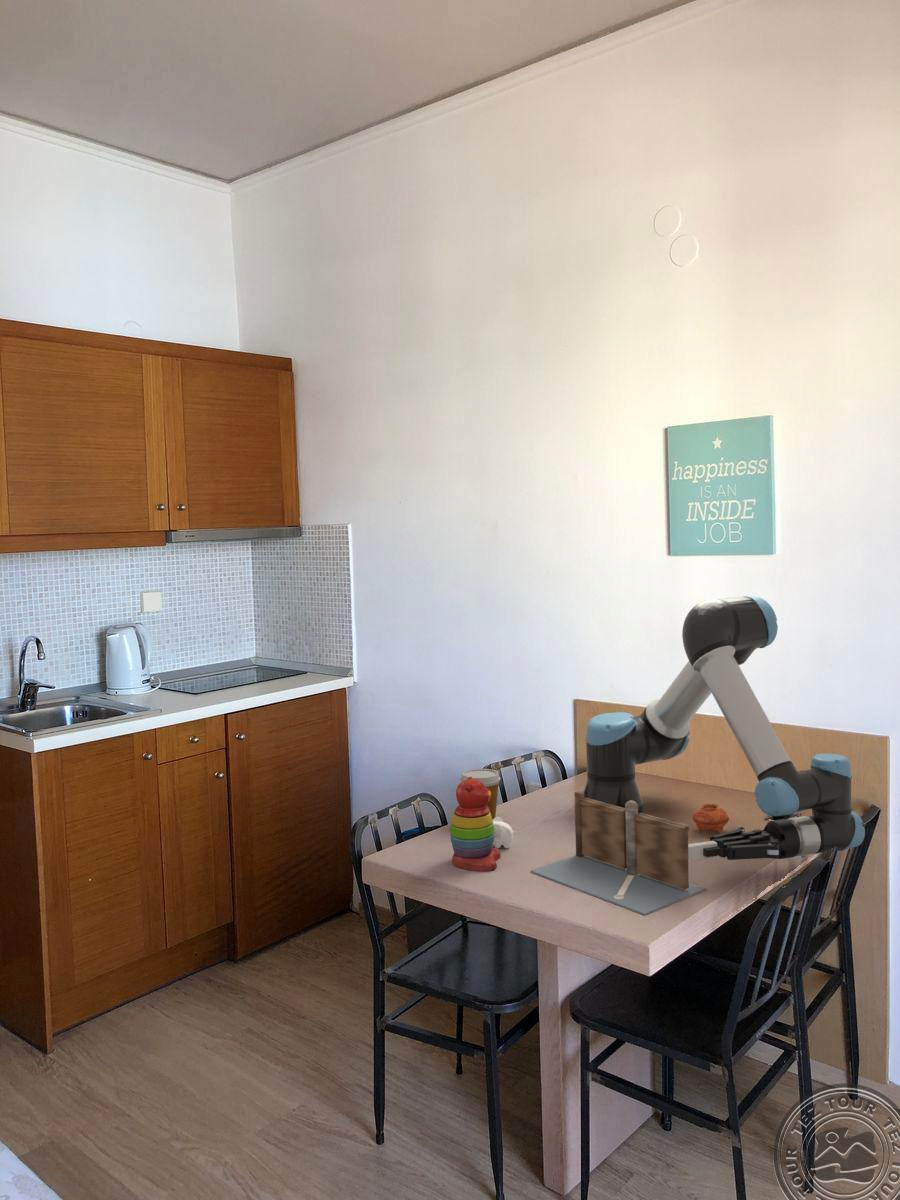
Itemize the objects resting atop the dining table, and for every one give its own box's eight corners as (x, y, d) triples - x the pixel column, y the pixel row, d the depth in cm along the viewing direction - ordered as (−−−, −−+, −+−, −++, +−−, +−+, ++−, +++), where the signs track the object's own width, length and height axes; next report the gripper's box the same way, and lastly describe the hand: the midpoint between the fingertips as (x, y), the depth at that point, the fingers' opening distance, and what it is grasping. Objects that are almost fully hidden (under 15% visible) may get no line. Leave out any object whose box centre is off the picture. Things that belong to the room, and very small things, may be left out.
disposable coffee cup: (470, 815, 240) (468, 767, 239) (507, 818, 237) (505, 769, 236) (455, 827, 232) (454, 777, 231) (493, 830, 228) (492, 779, 227)
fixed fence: (572, 856, 209) (571, 787, 208) (581, 853, 210) (580, 784, 209) (633, 877, 196) (632, 803, 195) (642, 874, 197) (640, 800, 196)
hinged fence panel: (635, 873, 196) (634, 814, 195) (641, 871, 197) (640, 812, 196) (683, 889, 187) (682, 828, 186) (689, 887, 188) (689, 825, 187)
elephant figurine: (482, 841, 221) (481, 815, 220) (517, 841, 220) (517, 815, 220) (481, 852, 214) (480, 825, 213) (518, 851, 213) (517, 824, 213)
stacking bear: (495, 872, 201) (493, 786, 200) (446, 870, 203) (444, 786, 202) (501, 854, 212) (499, 773, 211) (455, 852, 214) (453, 772, 212)
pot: (738, 830, 222) (734, 803, 220) (714, 845, 218) (710, 818, 216) (711, 821, 228) (707, 794, 227) (688, 835, 225) (683, 808, 223)
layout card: (530, 871, 201) (530, 870, 201) (591, 851, 212) (591, 849, 212) (644, 915, 177) (644, 913, 177) (706, 889, 188) (706, 887, 188)
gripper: (811, 866, 191) (704, 883, 185) (771, 846, 204) (669, 860, 197) (811, 829, 191) (703, 844, 184) (770, 810, 203) (668, 824, 196)
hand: (685, 852), depth 191 cm, fingers closed
